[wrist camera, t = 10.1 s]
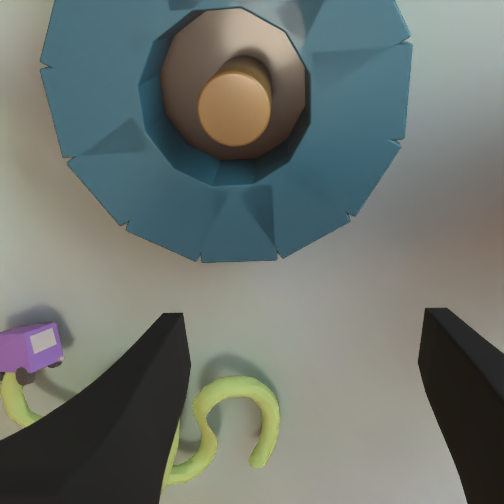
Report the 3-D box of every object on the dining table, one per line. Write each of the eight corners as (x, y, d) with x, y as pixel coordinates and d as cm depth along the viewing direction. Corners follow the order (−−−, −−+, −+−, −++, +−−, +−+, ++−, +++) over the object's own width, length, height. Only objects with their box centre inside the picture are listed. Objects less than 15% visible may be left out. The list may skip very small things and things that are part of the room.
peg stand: (365, -64, 18) (404, -95, 12) (356, 184, 22) (381, 242, 17) (111, -42, 19) (41, -61, 13) (153, 194, 23) (114, 252, 18)
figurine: (-99, 488, 36) (-160, 566, 31) (39, 238, 25) (-21, 297, 20) (114, 577, 40) (90, 658, 35) (311, 399, 29) (318, 479, 24)
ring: (401, -116, 16) (429, -144, 13) (379, 222, 22) (394, 256, 19) (44, -83, 17) (-7, -102, 14) (115, 233, 23) (90, 267, 20)
